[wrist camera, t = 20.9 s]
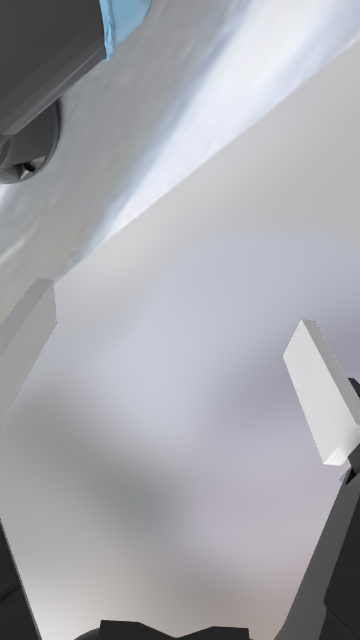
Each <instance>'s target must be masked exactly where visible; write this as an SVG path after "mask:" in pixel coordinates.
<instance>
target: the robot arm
mask: <svg viewBox="0 0 360 640" xmlns="http://www.w3.org/2000/svg"><path fill="white" fill-rule="evenodd" d="M151 3H152V0H0V184H13V183H18V182H22V181H24V180H27V179H29V178H31V177H32V176H34V175H36V174H38V173H39V172H40V171H41V170H42V169H44V168H45V166H46V165H47V164H48V163H49V161H50V160H51V158H52V156H53V154H54V152H55V149H56V146H57V143H58V138H59V127H60V126H59V111H58V105H57V101H56V99H57V98H59V97H60V96H61V95H62V94H63V93H64V92H66V91H67V90H68V89H69V88H70V87H71V86H73V85H74V84H75V83H76V82H77V81H78V80H80V79H81V78H82V77H83V76H84V75H85V74H87V73H88V72H89V71H90V70H91V69H92V68H93V67H95V66H96V65H97V64H98V63H99V62H100V61H102V60H104V62H107V61H108V60H110V58H111V56H112V55H113V52H114V49H115V48H116V47H117V46H118V45H119V44H120V43H122V42H123V41H124V40H125V39H126V38H127V37H128V36H129V35H130V34H131V33H132V32H133V31H134V30H135V29H136V28H137V27H138V26H139V25H140V24H141V23H142V22H143V21H144V20H145V18H146V17H147V15H148V13H149V11H150V7H151ZM55 326H56V309H55V295H54V280H48V279H42V278H37V280H36V281H35V282H34V283H33V285H32V286H31V287H30V288H29V290H28V291H27V292H26V293H25V295H24V296H23V297H22V298H21V300H20V301H19V302H18V304H17V305H16V306H15V307H14V309H13V310H12V311H11V312H10V314H9V315H8V316H7V317H6V319H5V320H4V321H3V322H2V324H1V325H0V425H1V423H2V421H3V419H4V418H5V416H6V414H7V412H8V410H9V409H10V407H11V405H12V403H13V401H14V400H15V398H16V396H17V394H18V392H19V391H20V389H21V387H22V385H23V383H24V382H25V380H26V378H27V376H28V374H29V373H30V371H31V369H32V367H33V365H34V363H35V362H36V360H37V358H38V356H39V354H40V353H41V351H42V349H43V347H44V345H45V344H46V342H47V340H48V338H49V336H50V334H51V333H52V331H53V329H54V327H55ZM283 357H284V360H285V363H286V365H287V368H288V371H289V373H290V376H291V379H292V381H293V384H294V386H295V389H296V392H297V395H298V397H299V400H300V403H301V405H302V408H303V410H304V413H305V416H306V418H307V421H308V424H309V427H310V429H311V432H312V435H313V437H314V440H315V443H316V445H317V448H318V451H319V453H320V456H321V458H322V461H323V464H331V465H339V466H340V465H341V464H342V463H343V462H344V461H345V460H346V459H347V458H348V459H349V461H350V464H351V467H350V468H349V469H348V471H347V472H346V473H345V474H344V475H343V476H342V477H341V478H340V479H339V480H340V481H343V483H342V485H341V488H340V490H339V493H338V495H337V498H336V500H335V502H334V505H333V507H332V509H331V512H330V514H329V517H328V519H327V522H326V524H325V527H324V529H323V531H322V534H321V536H320V539H319V541H318V544H317V546H316V548H315V551H314V553H313V556H312V558H311V560H310V563H309V565H308V568H307V570H306V573H305V575H304V577H303V580H302V582H301V585H300V587H299V589H298V592H297V594H296V597H295V599H294V602H293V604H292V607H291V609H290V612H289V614H288V616H287V619H286V621H285V623H284V625H283V627H282V628H281V630H280V631H279V633H278V634H277V636H276V637H275V639H274V640H360V384H359V383H358V382H357V381H356V380H355V379H354V378H347V376H346V374H345V373H344V371H343V369H342V367H341V366H340V364H339V362H338V361H337V359H336V357H335V355H334V353H333V352H332V350H331V348H330V346H329V345H328V343H327V341H326V340H325V338H324V336H323V334H322V332H321V331H320V329H319V327H318V325H317V324H316V322H315V321H311V320H305V319H302V320H301V321H300V323H299V325H298V327H297V329H296V331H295V334H294V335H293V337H292V339H291V341H290V343H289V345H288V347H287V349H286V351H285V353H284V355H283ZM0 640H42V638H41V635H40V632H39V629H38V626H37V624H36V621H35V618H34V615H33V612H32V610H31V607H30V604H29V601H28V598H27V595H26V592H25V589H24V586H23V583H22V580H21V578H20V575H19V572H18V569H17V566H16V563H15V560H14V557H13V554H12V551H11V548H10V545H9V543H8V540H7V537H6V534H5V531H4V528H3V525H2V522H1V519H0ZM75 640H252V639H250V638H249V631H248V628H234V627H217V626H213V627H210V628H207V629H204V630H201V631H198V632H195V633H192V634H189V635H185V636H182V637H179V638H174V637H171V636H169V635H167V634H165V633H162V632H160V631H158V630H155V629H153V628H151V627H149V626H146V625H144V624H142V623H139V622H129V621H111V620H101V624H100V628H97V629H94V630H91V631H89V632H87V633H85V634H83V635H81V636H79V637H78V638H76V639H75Z"/></svg>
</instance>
